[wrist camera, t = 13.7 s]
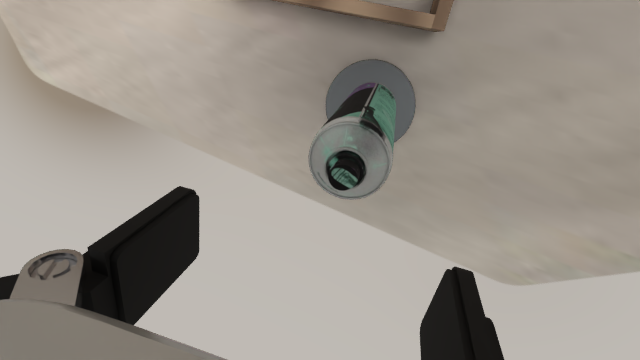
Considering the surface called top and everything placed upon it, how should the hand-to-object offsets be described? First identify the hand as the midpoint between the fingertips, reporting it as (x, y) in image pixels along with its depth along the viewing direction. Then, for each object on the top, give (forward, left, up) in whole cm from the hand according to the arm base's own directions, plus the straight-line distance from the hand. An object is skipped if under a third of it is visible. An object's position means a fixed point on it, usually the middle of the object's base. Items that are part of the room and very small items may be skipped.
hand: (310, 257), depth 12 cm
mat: (0, 0, -28) cm, 28 cm away
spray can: (0, 0, -28) cm, 28 cm away
